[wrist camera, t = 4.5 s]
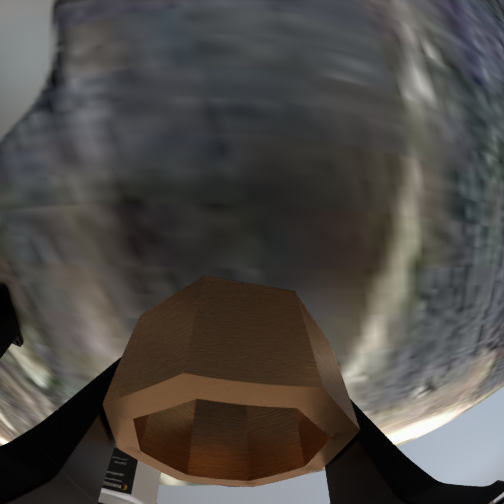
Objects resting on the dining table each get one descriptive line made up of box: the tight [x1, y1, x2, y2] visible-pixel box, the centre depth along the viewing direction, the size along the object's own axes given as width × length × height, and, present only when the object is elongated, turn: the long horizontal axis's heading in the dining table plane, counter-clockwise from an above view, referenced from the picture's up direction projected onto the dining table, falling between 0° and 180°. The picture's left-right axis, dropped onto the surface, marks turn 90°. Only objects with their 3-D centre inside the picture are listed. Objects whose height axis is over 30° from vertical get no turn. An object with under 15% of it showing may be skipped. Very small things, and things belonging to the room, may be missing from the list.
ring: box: [103, 276, 360, 487], centre depth 8 cm, size 7×7×4 cm
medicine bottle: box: [98, 446, 161, 504], centre depth 21 cm, size 7×7×12 cm
